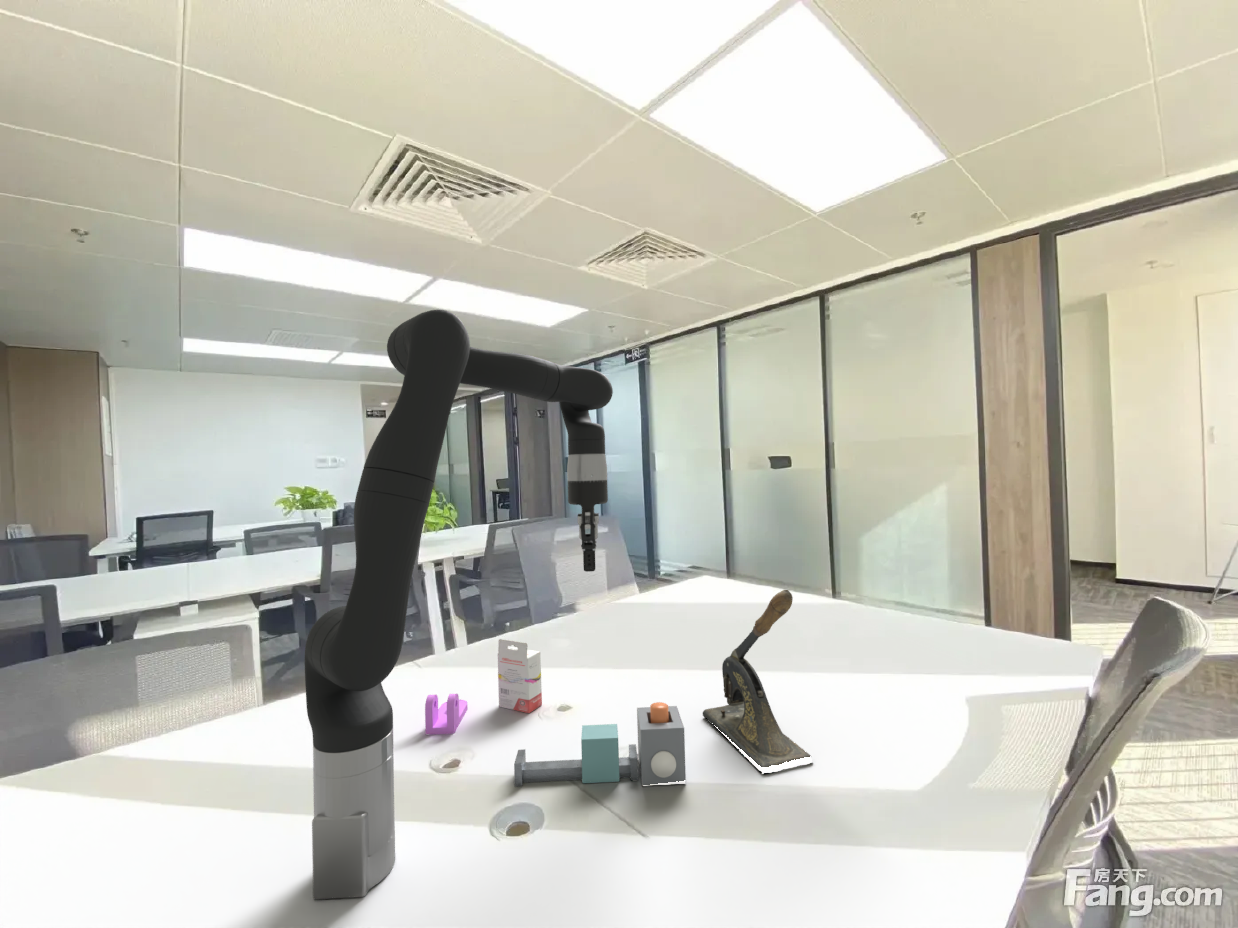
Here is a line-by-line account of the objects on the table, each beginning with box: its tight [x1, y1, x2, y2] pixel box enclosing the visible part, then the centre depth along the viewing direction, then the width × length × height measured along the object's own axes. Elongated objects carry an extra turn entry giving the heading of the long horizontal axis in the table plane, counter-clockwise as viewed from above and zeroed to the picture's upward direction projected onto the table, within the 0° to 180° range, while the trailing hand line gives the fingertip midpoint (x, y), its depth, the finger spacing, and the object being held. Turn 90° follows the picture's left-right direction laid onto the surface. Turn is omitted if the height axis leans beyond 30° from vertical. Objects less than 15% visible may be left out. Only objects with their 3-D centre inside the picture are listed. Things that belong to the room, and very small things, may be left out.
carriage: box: [580, 723, 620, 784], centre depth 88 cm, size 5×6×7 cm
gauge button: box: [649, 701, 669, 723], centre depth 88 cm, size 3×3×4 cm
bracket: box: [424, 693, 468, 735], centre depth 110 cm, size 13×6×7 cm, turn 3°
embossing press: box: [702, 589, 811, 767], centre depth 98 cm, size 11×24×30 cm, turn 15°
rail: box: [513, 743, 639, 787], centre depth 87 cm, size 4×20×4 cm, turn 92°
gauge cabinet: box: [636, 705, 687, 786], centre depth 88 cm, size 8×7×9 cm
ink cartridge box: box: [497, 638, 543, 714], centre depth 115 cm, size 9×5×15 cm, turn 62°
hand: (589, 570), depth 99 cm, fingers closed
